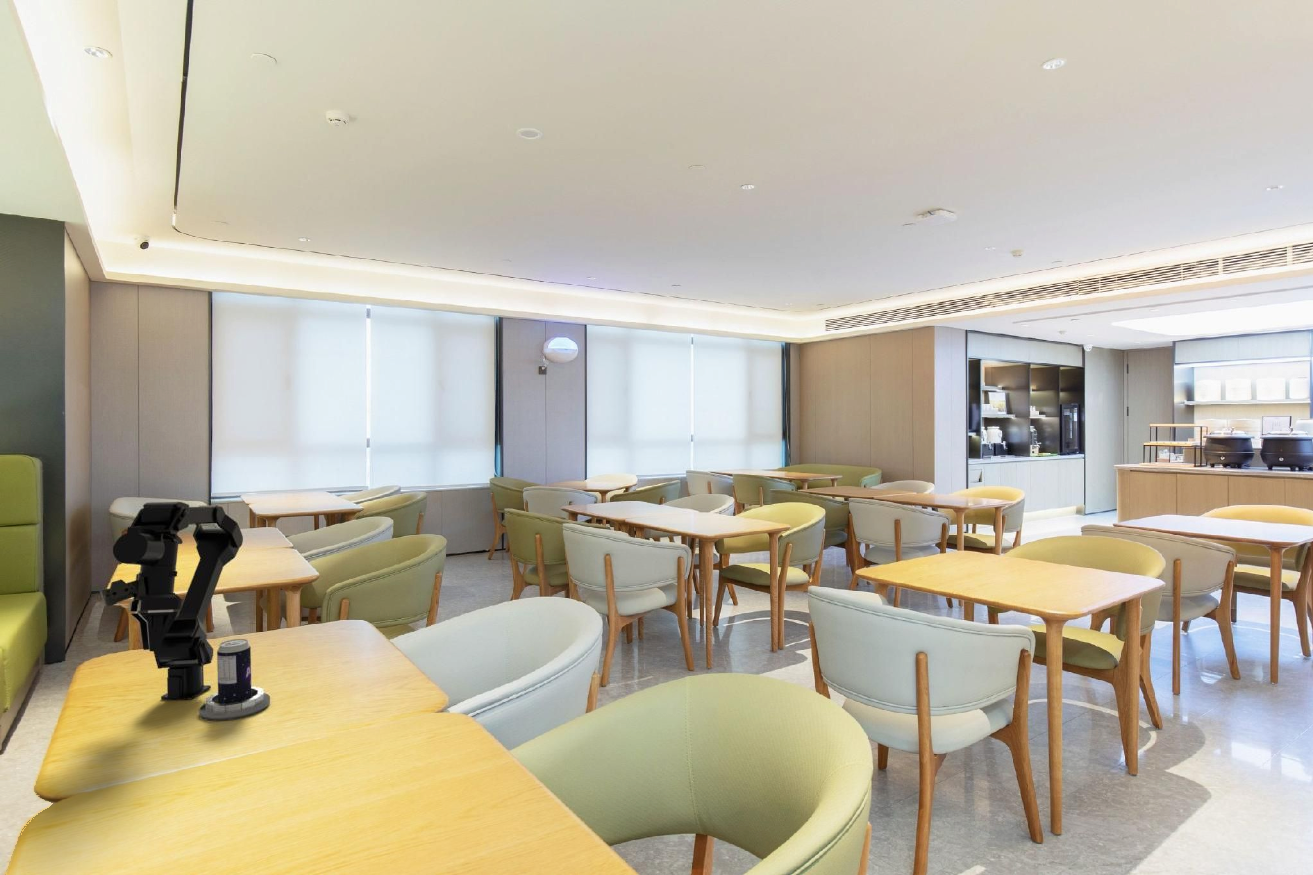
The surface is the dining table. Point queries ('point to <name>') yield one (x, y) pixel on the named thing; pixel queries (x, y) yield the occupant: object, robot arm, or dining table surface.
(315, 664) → the dining table surface
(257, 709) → the collar base
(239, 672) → the beverage can
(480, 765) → the dining table surface
